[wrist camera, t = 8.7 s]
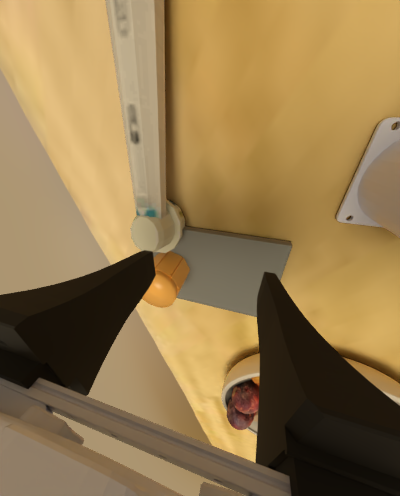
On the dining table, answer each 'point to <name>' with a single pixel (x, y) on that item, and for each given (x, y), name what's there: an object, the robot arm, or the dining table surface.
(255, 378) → the bowl
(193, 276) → the charcoal board
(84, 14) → the dining table surface
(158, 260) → the orange cap
